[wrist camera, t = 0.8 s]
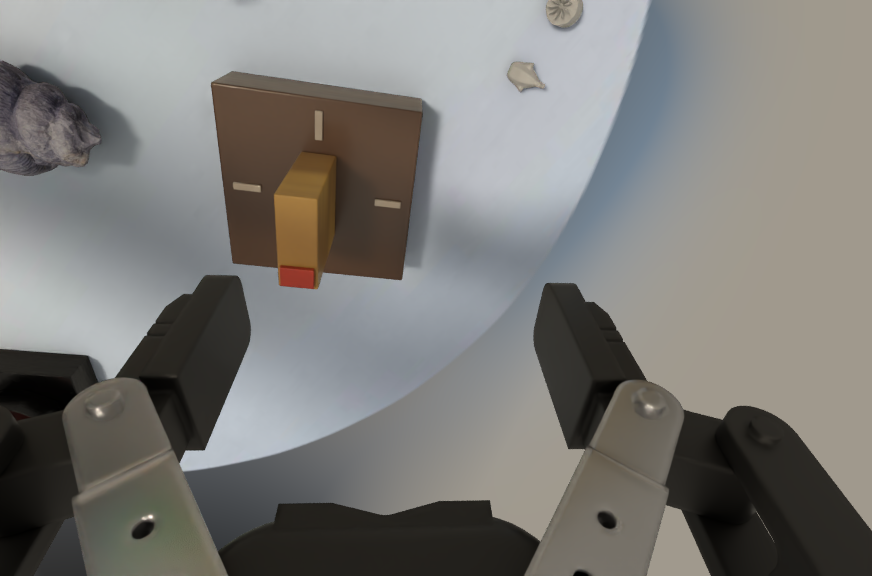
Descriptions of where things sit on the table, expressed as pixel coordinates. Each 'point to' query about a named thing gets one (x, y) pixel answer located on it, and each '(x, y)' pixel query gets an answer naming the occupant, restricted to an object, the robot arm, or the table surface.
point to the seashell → (40, 126)
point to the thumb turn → (305, 220)
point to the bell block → (41, 381)
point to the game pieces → (560, 12)
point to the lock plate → (322, 134)
